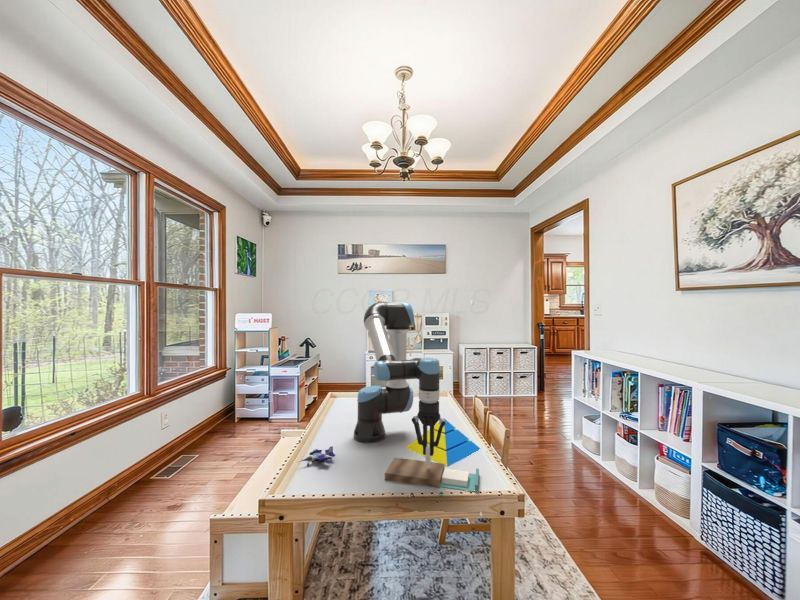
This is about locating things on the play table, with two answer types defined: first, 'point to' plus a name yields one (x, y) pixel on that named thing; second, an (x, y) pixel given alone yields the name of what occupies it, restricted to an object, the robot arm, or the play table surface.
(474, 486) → the mat
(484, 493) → the play table surface
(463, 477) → the tile
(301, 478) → the play table surface
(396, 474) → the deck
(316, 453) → the toy airplane
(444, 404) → the play table surface
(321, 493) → the play table surface
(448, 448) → the pyramid toy
